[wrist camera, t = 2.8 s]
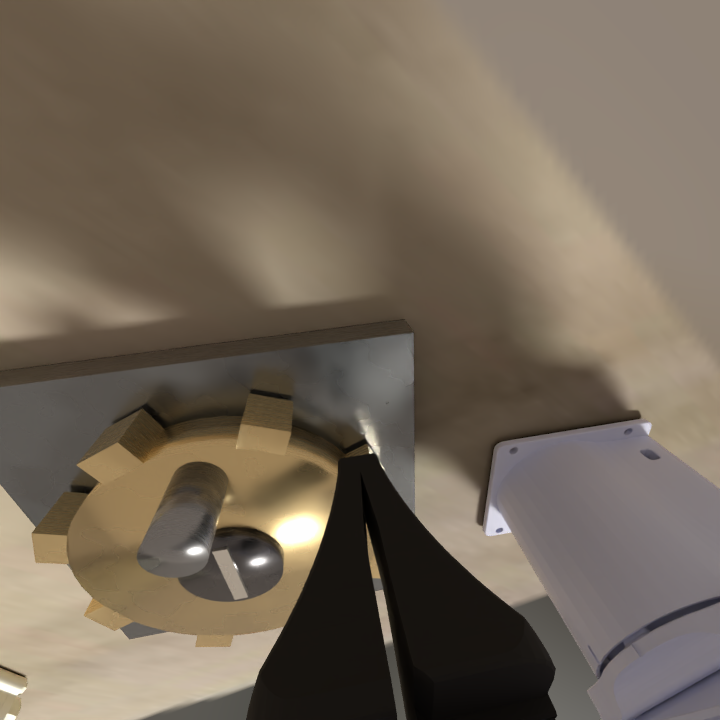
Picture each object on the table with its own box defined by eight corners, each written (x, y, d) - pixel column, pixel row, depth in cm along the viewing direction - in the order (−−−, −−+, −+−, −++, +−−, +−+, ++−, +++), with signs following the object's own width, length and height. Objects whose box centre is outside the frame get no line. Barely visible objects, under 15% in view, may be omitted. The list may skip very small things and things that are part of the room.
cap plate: (404, 319, 15) (413, 332, 14) (409, 560, 23) (415, 583, 22) (-36, 375, 13) (-73, 396, 12) (139, 611, 22) (129, 639, 21)
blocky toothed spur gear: (390, 576, 21) (412, 680, 17) (145, 624, 20) (99, 749, 15) (377, 375, 14) (409, 461, 10) (-2, 428, 13) (-162, 555, 8)
